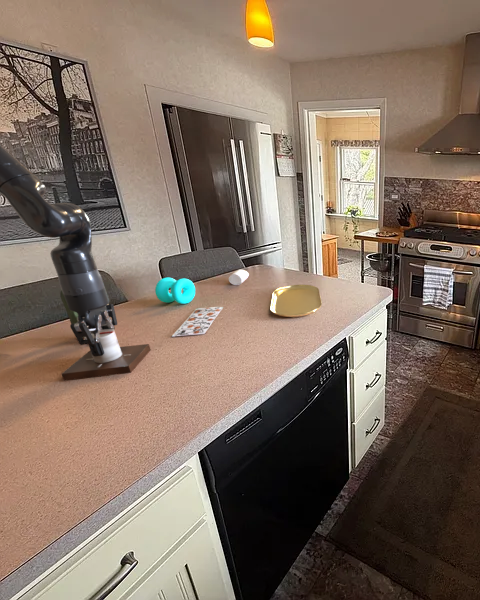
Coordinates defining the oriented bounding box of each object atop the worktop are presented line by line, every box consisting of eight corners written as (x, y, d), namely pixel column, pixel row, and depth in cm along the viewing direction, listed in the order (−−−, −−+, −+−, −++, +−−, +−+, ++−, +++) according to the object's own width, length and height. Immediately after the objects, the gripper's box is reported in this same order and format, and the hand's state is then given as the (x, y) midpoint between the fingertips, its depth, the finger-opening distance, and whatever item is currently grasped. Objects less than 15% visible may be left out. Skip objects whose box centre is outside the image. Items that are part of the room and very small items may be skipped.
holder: (64, 380, 79) (60, 373, 79) (92, 356, 90) (90, 349, 90) (131, 372, 83) (128, 365, 82) (150, 349, 94) (148, 343, 93)
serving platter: (317, 286, 149) (317, 283, 149) (324, 315, 118) (323, 311, 117) (274, 289, 144) (274, 286, 143) (269, 321, 113) (268, 317, 112)
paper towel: (196, 308, 123) (223, 306, 125) (196, 308, 123) (223, 306, 125) (171, 336, 101) (204, 333, 103) (171, 337, 101) (204, 334, 103)
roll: (252, 277, 161) (250, 266, 159) (242, 285, 149) (240, 273, 147) (240, 277, 160) (238, 266, 158) (229, 285, 149) (227, 273, 147)
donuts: (180, 308, 123) (173, 283, 120) (157, 306, 125) (150, 281, 121) (199, 299, 132) (194, 275, 129) (177, 297, 134) (171, 274, 130)
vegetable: (72, 338, 100) (48, 275, 93) (88, 332, 104) (66, 271, 97) (83, 339, 99) (59, 277, 92) (98, 333, 103) (77, 273, 96)
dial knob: (89, 364, 83) (79, 338, 80) (101, 353, 88) (93, 329, 85) (115, 361, 84) (106, 336, 82) (126, 350, 89) (118, 327, 87)
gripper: (83, 281, 85) (103, 338, 91) (43, 300, 72) (70, 365, 78) (117, 279, 86) (135, 335, 92) (84, 297, 74) (108, 361, 80)
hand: (105, 349), depth 85 cm, fingers closed on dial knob, 5 cm apart
